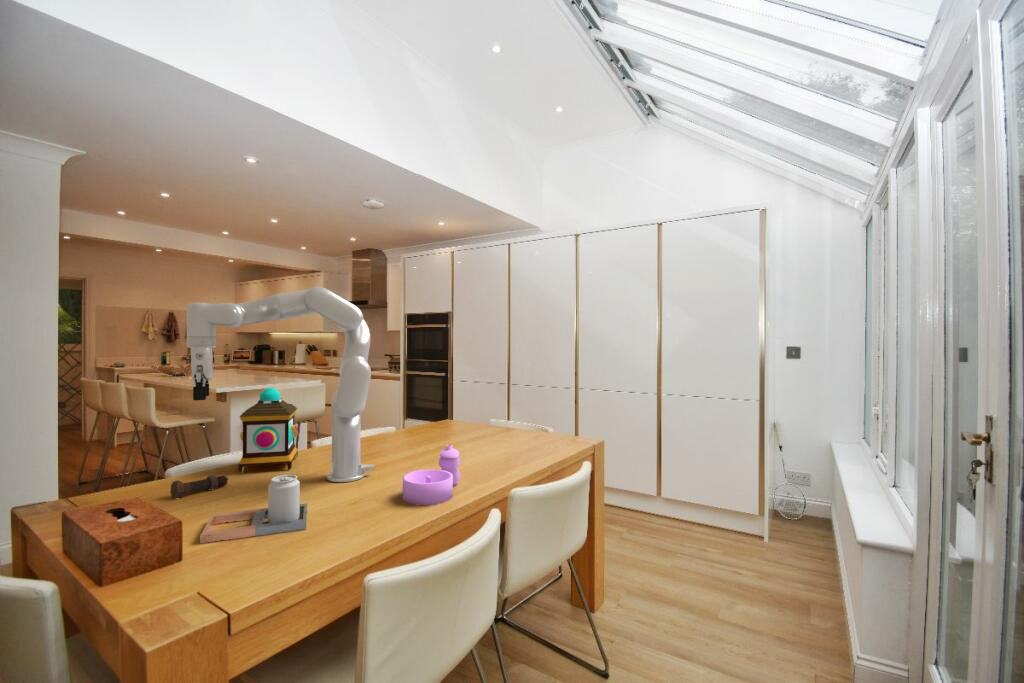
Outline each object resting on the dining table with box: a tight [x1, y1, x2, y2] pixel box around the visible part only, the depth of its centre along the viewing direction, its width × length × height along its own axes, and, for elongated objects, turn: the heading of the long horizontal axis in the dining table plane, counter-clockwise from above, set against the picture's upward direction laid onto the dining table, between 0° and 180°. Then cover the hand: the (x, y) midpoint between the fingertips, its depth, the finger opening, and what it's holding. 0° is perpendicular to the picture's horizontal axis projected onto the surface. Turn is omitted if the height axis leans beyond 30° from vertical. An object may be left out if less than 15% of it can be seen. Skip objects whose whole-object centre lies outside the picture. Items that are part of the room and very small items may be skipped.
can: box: [267, 474, 301, 524], centre depth 124 cm, size 8×8×12 cm
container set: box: [402, 444, 461, 506], centre depth 150 cm, size 25×15×13 cm, turn 159°
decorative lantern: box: [237, 386, 299, 474], centre depth 177 cm, size 20×20×30 cm
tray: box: [199, 503, 308, 544], centre depth 122 cm, size 23×14×2 cm, turn 113°
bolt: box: [170, 474, 229, 499], centre depth 147 cm, size 6×5×15 cm
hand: (201, 398), depth 144 cm, fingers open, 9 cm apart
